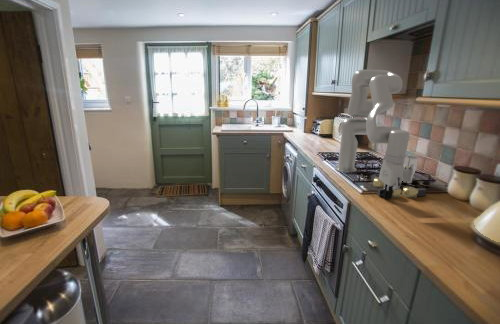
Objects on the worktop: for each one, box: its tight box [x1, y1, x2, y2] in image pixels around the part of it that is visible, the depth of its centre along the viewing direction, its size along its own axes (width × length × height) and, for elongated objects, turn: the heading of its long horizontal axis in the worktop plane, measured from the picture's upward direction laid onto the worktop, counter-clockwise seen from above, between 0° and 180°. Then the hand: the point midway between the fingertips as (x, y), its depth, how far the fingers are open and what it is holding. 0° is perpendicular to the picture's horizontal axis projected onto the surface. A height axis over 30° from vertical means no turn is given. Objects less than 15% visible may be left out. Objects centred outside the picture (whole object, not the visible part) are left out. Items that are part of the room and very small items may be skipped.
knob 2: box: [401, 185, 427, 200], centre depth 122 cm, size 10×6×4 cm, turn 93°
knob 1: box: [376, 188, 402, 200], centre depth 121 cm, size 10×6×4 cm, turn 93°
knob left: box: [370, 174, 384, 189], centre depth 135 cm, size 10×6×4 cm, turn 3°
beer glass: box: [402, 154, 419, 184], centre depth 139 cm, size 7×7×15 cm
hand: (386, 197), depth 118 cm, fingers closed
